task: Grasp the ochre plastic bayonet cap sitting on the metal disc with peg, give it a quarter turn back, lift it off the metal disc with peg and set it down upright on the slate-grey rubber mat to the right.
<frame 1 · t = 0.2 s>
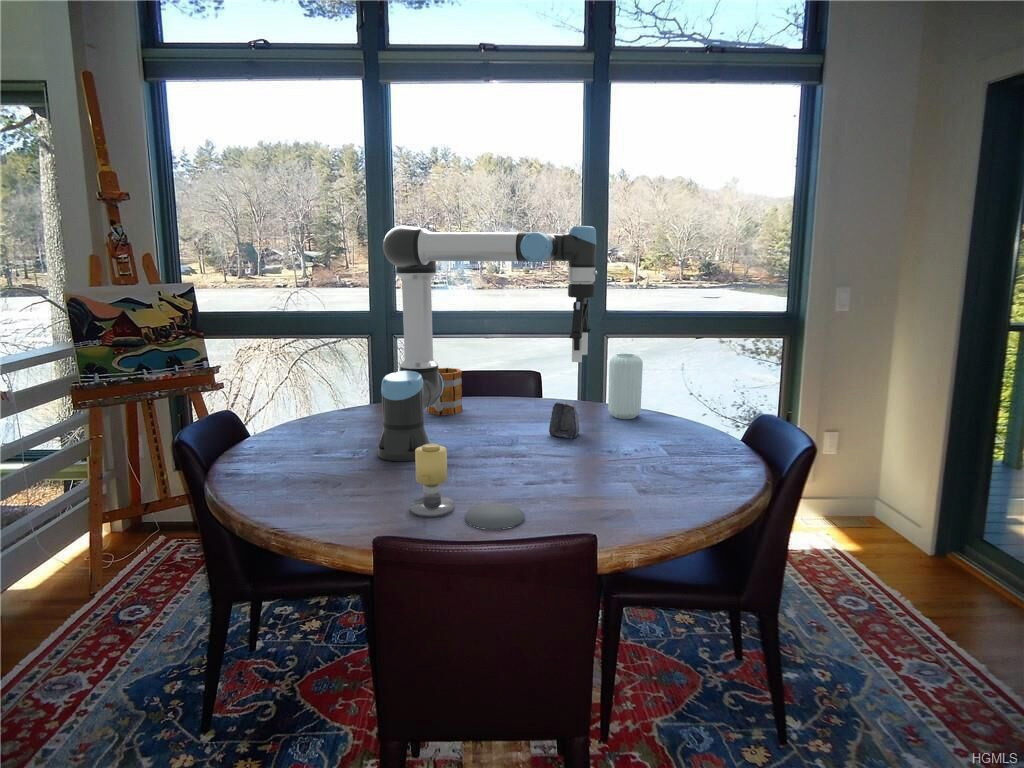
hand: (579, 358, 186), 28 cm above the table, fingers open, 13 cm apart
stone: (566, 435, 210), on the table
mug: (443, 413, 239), on the table
vase: (624, 417, 233), on the table
metal disc with peg: (432, 509, 148), on the table
rubber mat: (494, 517, 144), on the table
bayonet cap: (431, 479, 147), point 7 cm above the table, touching metal disc with peg
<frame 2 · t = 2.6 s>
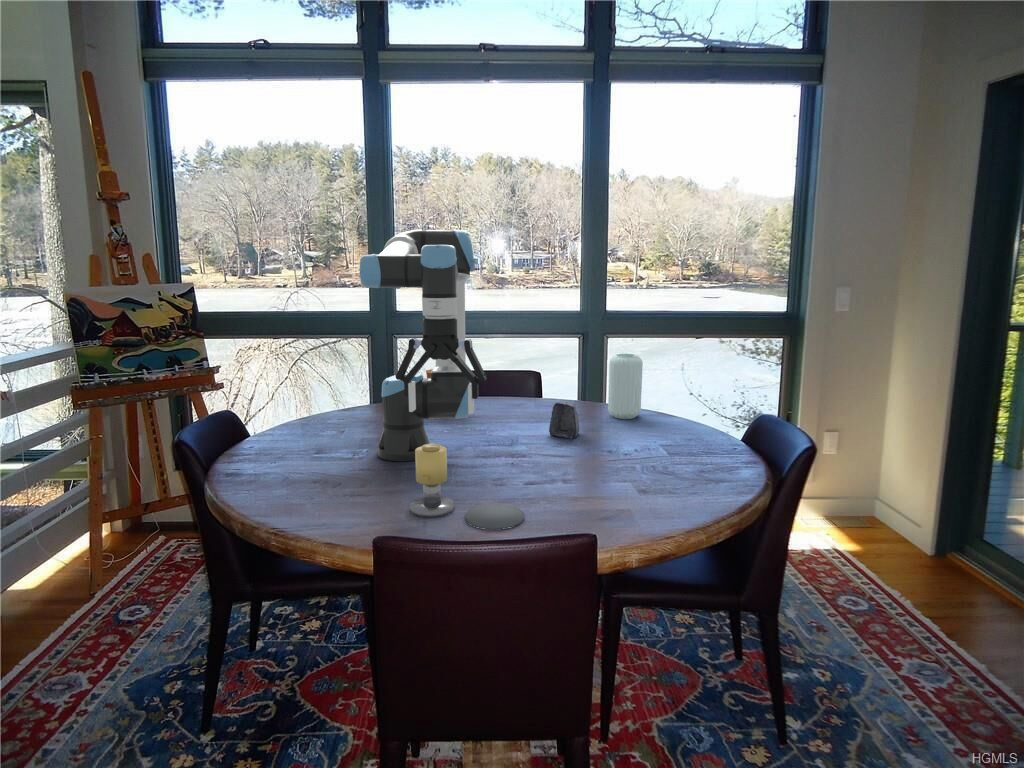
hand: (441, 411, 146), 22 cm above the table, fingers open, 13 cm apart
nothing on the table moved.
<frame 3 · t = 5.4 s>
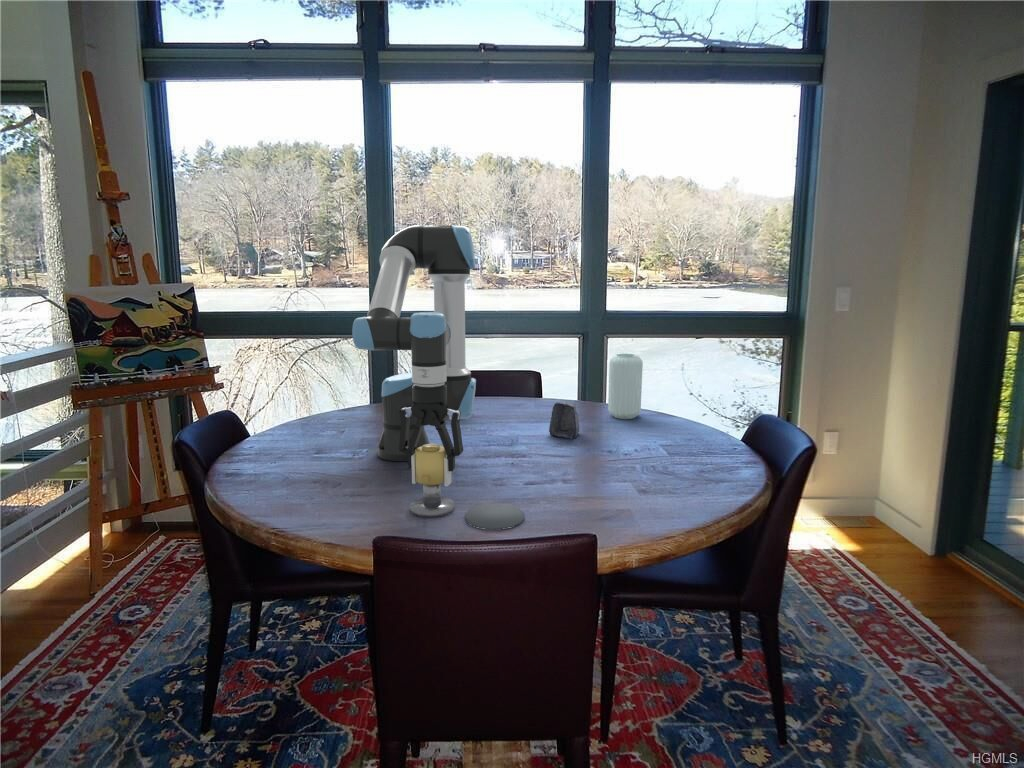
hand: (431, 482, 147), 6 cm above the table, fingers closed on bayonet cap, 7 cm apart
bayonet cap: (431, 479, 147), point 7 cm above the table, touching gripper, metal disc with peg
everything else where it was.
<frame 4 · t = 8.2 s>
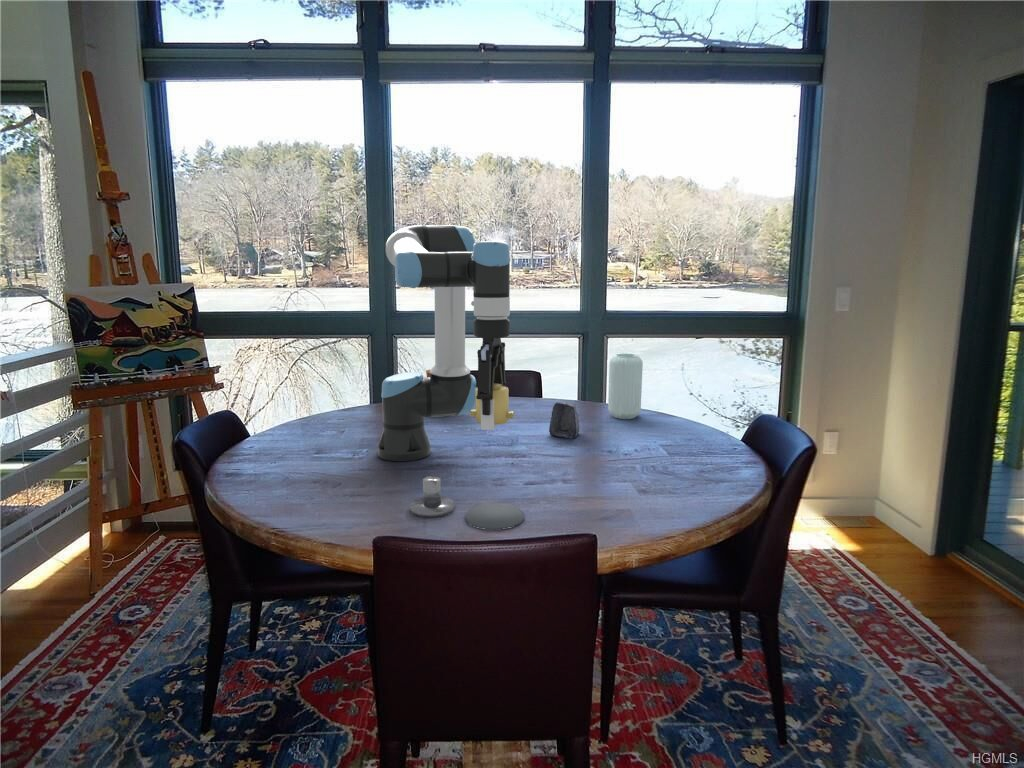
hand: (492, 424, 140), 21 cm above the table, fingers closed on bayonet cap, 7 cm apart
bayonet cap: (492, 420, 139), point 22 cm above the table, touching gripper
everything else where it was.
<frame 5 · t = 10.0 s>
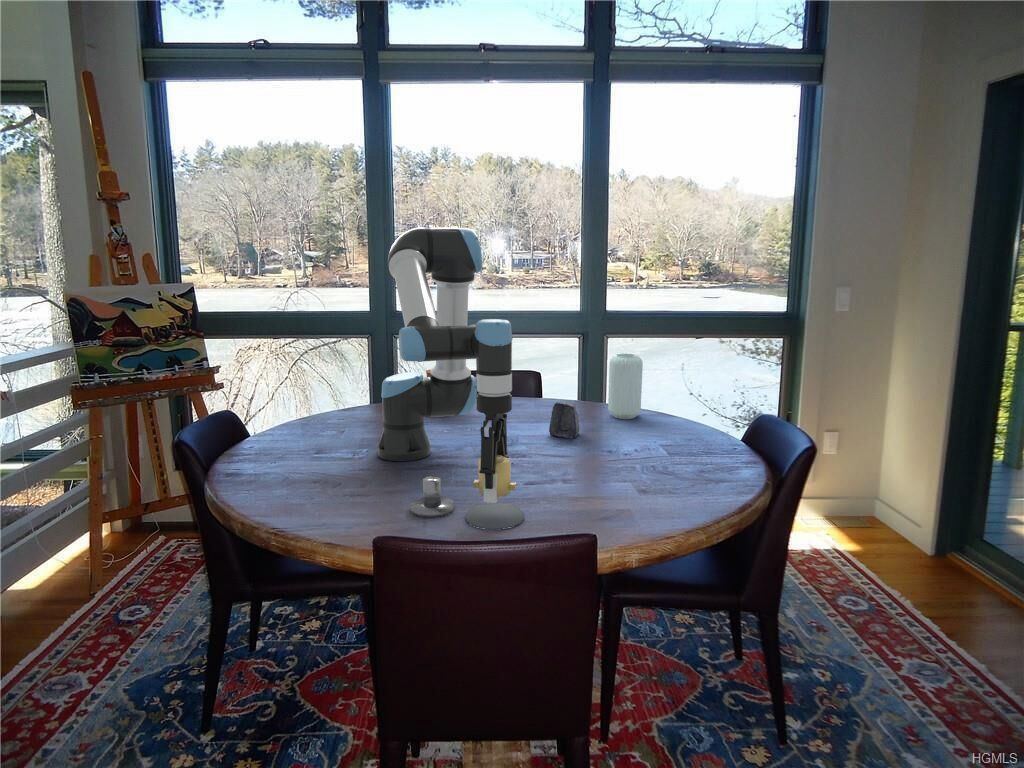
hand: (494, 495, 143), 5 cm above the table, fingers closed on bayonet cap, 7 cm apart
bayonet cap: (494, 491, 142), point 6 cm above the table, touching gripper
everything else where it was.
when the fingers open (2 cm above the table, at t = 11.3 s): bayonet cap drops 2 cm, resting on rubber mat.
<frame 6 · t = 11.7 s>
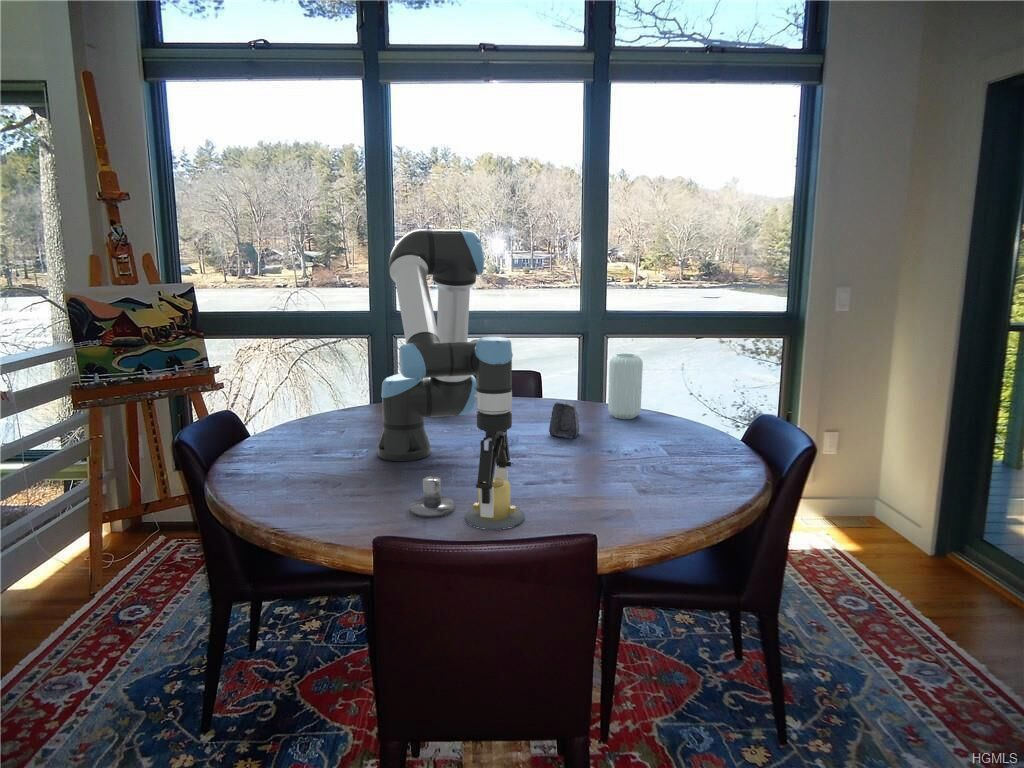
hand: (494, 505, 143), 3 cm above the table, fingers open, 12 cm apart
bayonet cap: (494, 514, 144), point 1 cm above the table, touching rubber mat
everything else where it was.
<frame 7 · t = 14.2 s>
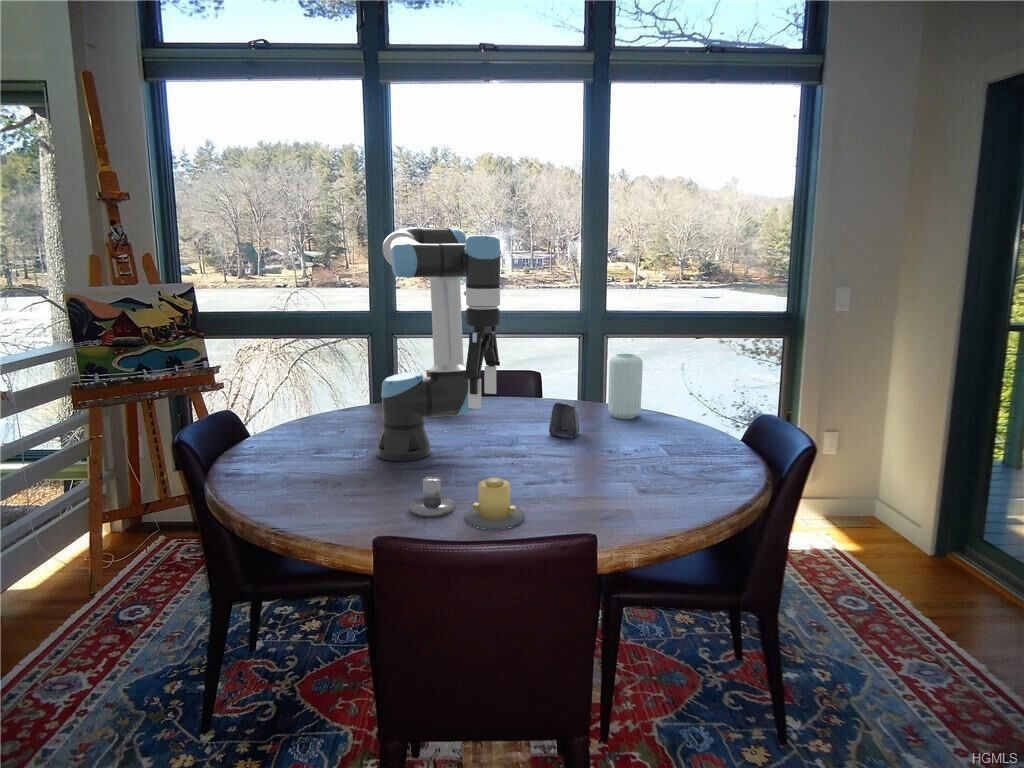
hand: (482, 400, 149), 24 cm above the table, fingers open, 13 cm apart
nothing on the table moved.
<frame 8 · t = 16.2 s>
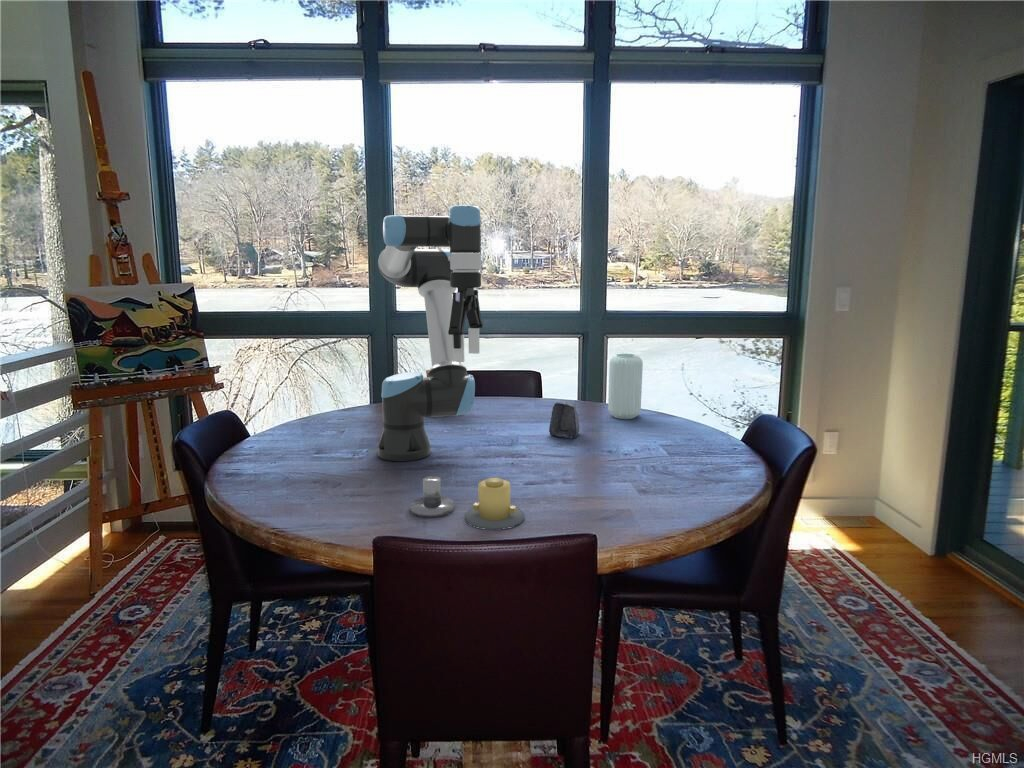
hand: (466, 357, 163), 32 cm above the table, fingers open, 13 cm apart
nothing on the table moved.
at the end: bayonet cap 0.1 cm from the rubber mat (horizontally); bayonet cap point 0.8 cm above the table; bayonet cap tilted 0° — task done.
